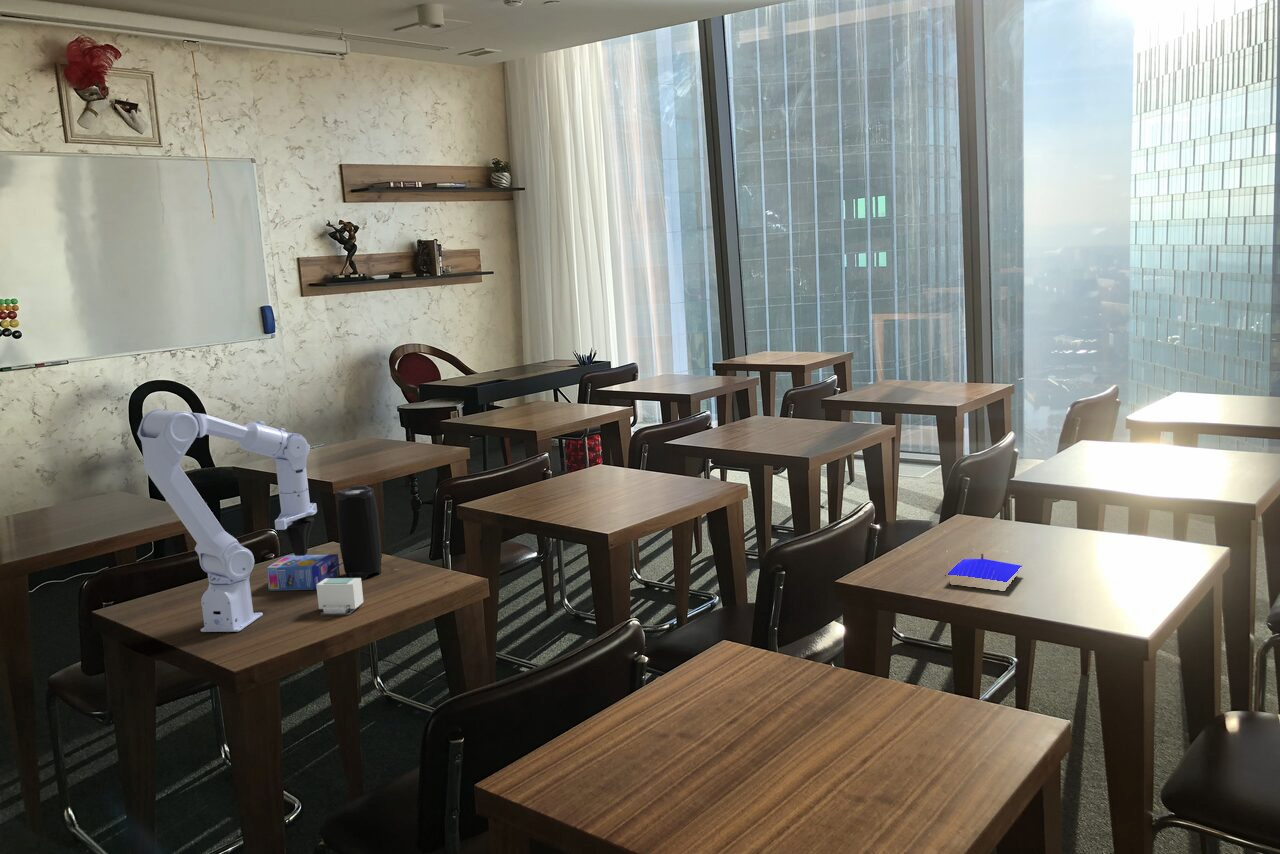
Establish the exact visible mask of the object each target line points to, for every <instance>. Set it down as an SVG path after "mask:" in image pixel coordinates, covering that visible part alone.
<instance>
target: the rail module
mask: <svg viewBox="0 0 1280 854" xmlns="http://www.w3.org/2000/svg"><path fill="white" fill-rule="evenodd" d="M316 587H317V589H316V594H317V604H318V609H319V610H323V607H325V606H326V605H350V608H351V609H356V608H357V607H358V606H359V605H360V604H362V603H363V604H364V594H363V584H362V579H361V578H349V577H338V578H326V579H324V580H322V581H321V582H320V583H318V584H317V585H316ZM363 604H362V605H363ZM358 608H359V607H358ZM358 608H357V609H358ZM357 609H356V610H357Z"/></svg>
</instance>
